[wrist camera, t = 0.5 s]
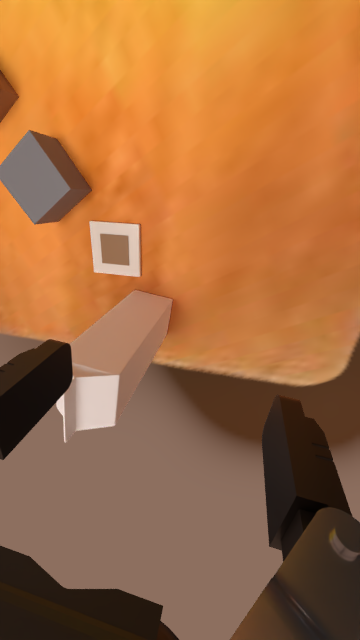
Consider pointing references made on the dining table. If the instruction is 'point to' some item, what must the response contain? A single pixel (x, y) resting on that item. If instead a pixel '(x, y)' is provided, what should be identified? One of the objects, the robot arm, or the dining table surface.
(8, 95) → the walnut block
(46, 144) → the charcoal block
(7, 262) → the dining table surface
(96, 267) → the tile
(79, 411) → the milk
